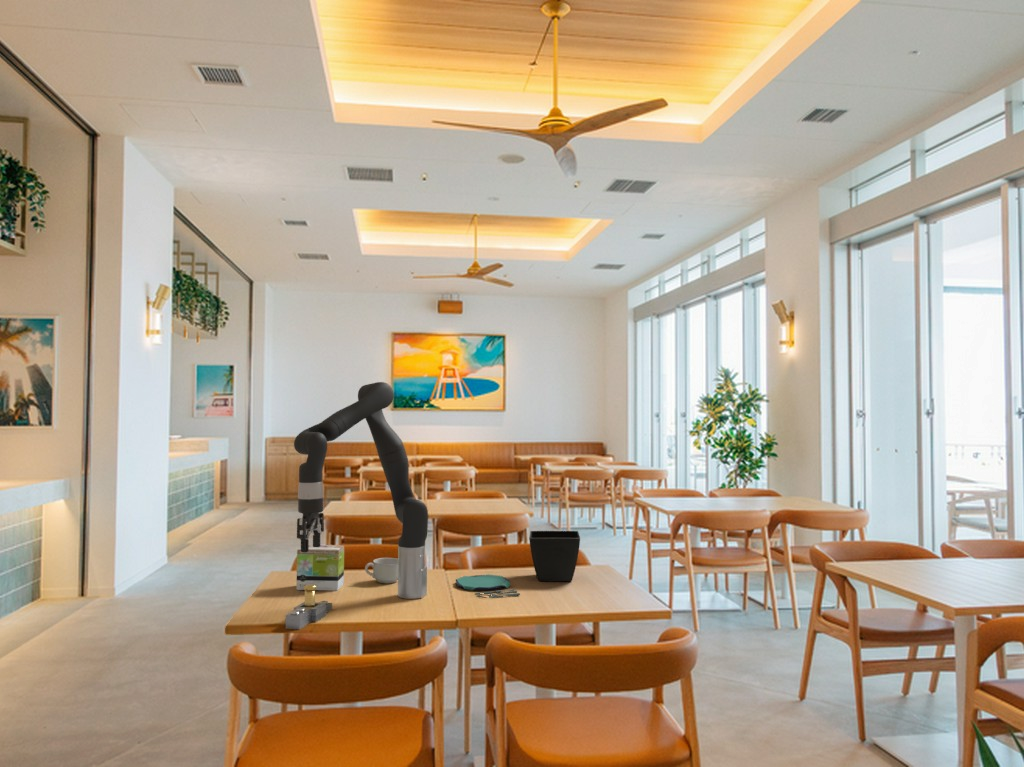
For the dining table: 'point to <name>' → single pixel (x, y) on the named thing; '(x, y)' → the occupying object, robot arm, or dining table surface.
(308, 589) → the pin
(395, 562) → the teacup
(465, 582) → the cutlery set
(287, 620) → the grey studded bar
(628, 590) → the dining table surface
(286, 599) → the dining table surface
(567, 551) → the flower pot
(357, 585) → the dining table surface
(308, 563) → the tea box
